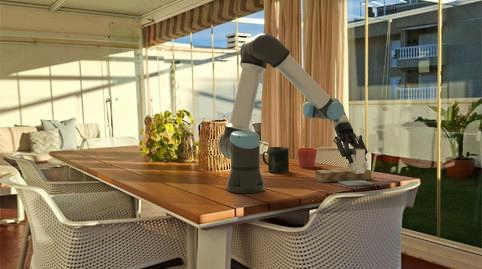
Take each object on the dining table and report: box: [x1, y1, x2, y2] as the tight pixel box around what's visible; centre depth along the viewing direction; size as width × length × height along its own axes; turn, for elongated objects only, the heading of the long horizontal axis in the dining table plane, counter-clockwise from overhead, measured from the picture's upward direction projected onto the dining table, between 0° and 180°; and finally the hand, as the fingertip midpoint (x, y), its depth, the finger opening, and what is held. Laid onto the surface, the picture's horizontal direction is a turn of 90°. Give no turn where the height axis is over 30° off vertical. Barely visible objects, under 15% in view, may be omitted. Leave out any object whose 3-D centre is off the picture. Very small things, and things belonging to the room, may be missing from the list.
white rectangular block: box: [348, 147, 366, 174], centre depth 175 cm, size 4×6×10 cm, turn 14°
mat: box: [337, 179, 374, 187], centre depth 175 cm, size 12×9×1 cm
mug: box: [261, 146, 290, 174], centre depth 209 cm, size 11×15×12 cm
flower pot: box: [296, 147, 318, 168], centre depth 223 cm, size 11×11×10 cm
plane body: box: [314, 168, 372, 183], centre depth 186 cm, size 24×7×6 cm, turn 104°
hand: (361, 168), depth 171 cm, fingers closed on white rectangular block, 4 cm apart
